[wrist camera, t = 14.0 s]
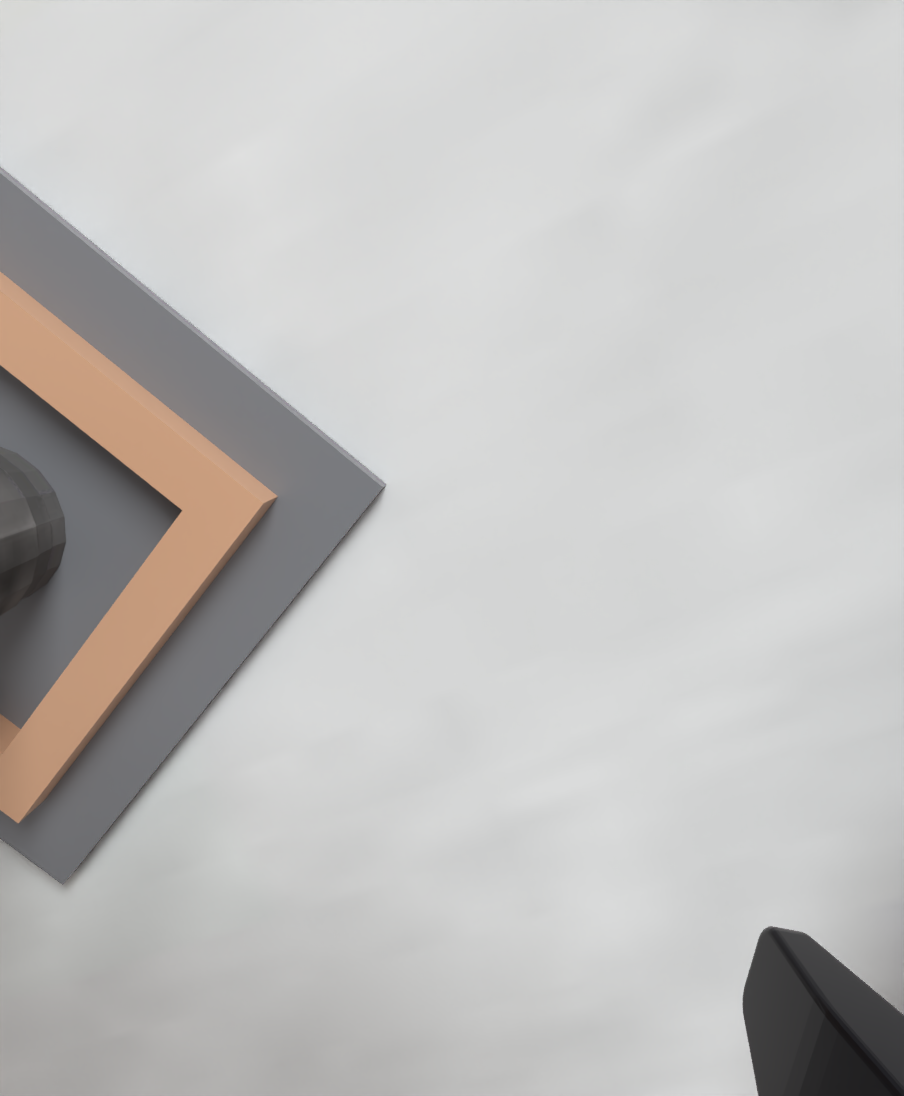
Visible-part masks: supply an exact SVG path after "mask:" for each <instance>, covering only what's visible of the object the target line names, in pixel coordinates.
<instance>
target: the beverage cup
mask: <svg viewBox="0 0 904 1096" xmlns="http://www.w3.org/2000/svg"><path fill="white" fill-rule="evenodd" d="M65 544H66V534H65V519H64V514H63V512H62V509H61V506H60V504H59V501H58V498H57V496H56V493H55V491H54V490H53V488H52V487H51V486H50V484H49V483H48V482H47V480H46V479H45V477H44V476H43V475H42V473H41V472H40V471H39V470H38V469H37V468H36V467H35V466H33V465H32V464H31V463H29V462H28V461H27V460H25V459H24V458H23V457H22V456H20V455H19V454H18V453H15V452H13V451H10V450H7V449H5V448H2V447H0V616H2V615H3V614H5V613H6V612H7V611H9V610H10V609H12V608H13V607H15V606H16V605H17V604H18V603H19V601H20V600H22V599H24V598H26V597H29V596H30V595H31V594H33V593H34V592H36V591H37V590H39V589H40V588H41V587H43V586H44V585H46V584H47V583H48V582H49V580H50V579H51V577H52V576H53V574H54V573H55V571H56V570H57V568H58V567H59V565H60V563H61V559H62V555H63V551H64V547H65Z"/></svg>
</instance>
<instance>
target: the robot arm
mask: <svg viewBox="0 0 904 1096" xmlns="http://www.w3.org/2000/svg"><path fill="white" fill-rule="evenodd" d="M743 1014H744V1020H745V1026H746V1031H747V1037H748V1042H749V1047H750V1053H751V1058H752V1064H753V1069H754V1074H755V1080H756V1085H757V1091H758V1096H904V1015H903V1014H902V1013H900V1012H899V1011H898V1010H897V1009H896V1008H894V1007H893V1006H892V1005H891V1004H890V1003H888V1002H887V1001H886V1000H885V999H884V998H883V997H881V996H880V995H879V994H878V993H877V992H875V991H874V990H873V989H872V988H871V987H869V986H868V985H867V984H866V983H865V982H863V981H862V980H861V979H860V978H859V977H857V976H856V975H855V974H854V973H853V972H852V971H850V970H849V969H848V968H847V967H846V966H844V965H843V964H842V963H841V962H840V961H838V960H837V959H836V958H835V957H834V956H832V955H831V954H830V953H829V952H828V951H826V950H825V949H824V948H823V947H822V946H821V945H819V944H818V943H817V942H816V941H815V940H813V939H812V938H811V937H810V936H808V935H807V934H805V933H803V932H799V931H794V930H789V929H783V928H778V927H773V926H769V927H768V928H766V929H764V930H763V931H762V933H761V935H760V937H759V940H758V943H757V946H756V950H755V953H754V956H753V960H752V963H751V967H750V970H749V973H748V977H747V980H746V984H745V987H744V992H743Z"/></svg>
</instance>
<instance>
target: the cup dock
mask: <svg viewBox="0 0 904 1096" xmlns="http://www.w3.org/2000/svg"><path fill="white" fill-rule="evenodd" d="M0 447H2V448H5V449H7V450H10V451H13V452H15V453H18V454H19V455H20V456H22V457H23V458H24V459H25V460H27V461H28V462H29V463H31V464H32V465H33V466H35V467H36V468H37V469H38V470H39V471H40V472H41V473H42V475H43V476H44V477H45V479H46V480H47V482H48V483H49V484H50V486H51V487H52V488H53V490H54V491H55V493H56V496H57V498H58V501H59V504H60V506H61V509H62V512H63V514H64V519H65V534H66V544H65V547H64V551H63V555H62V559H61V563H60V565H59V567H58V568H57V570H56V571H55V573H54V574H53V576H52V577H51V579H50V580H49V582H48V583H47V584H46V585H44V586H43V587H41V588H40V589H39V590H37V591H36V592H34V593H33V594H31V595H30V596H29V597H26V598H24V599H22V600H20V601H19V603H18V604H17V605H16V606H15V607H13V608H12V609H10V610H9V611H7V612H6V613H5V614H3V615H2V616H0V838H1V839H2V840H3V841H5V842H6V843H7V844H9V845H10V846H11V847H13V848H14V849H15V850H17V851H18V852H19V853H21V854H22V855H23V856H25V857H26V858H27V859H29V860H30V861H32V862H33V863H34V864H36V865H37V866H38V867H40V868H41V869H42V870H44V871H45V872H46V873H48V874H49V875H50V876H52V877H53V878H54V879H56V880H57V881H58V882H60V883H61V884H64V883H65V882H66V880H67V879H68V878H69V877H70V876H71V875H72V874H73V873H74V871H75V870H76V869H77V868H78V867H79V865H80V864H81V863H82V862H83V860H84V859H85V858H86V857H87V855H88V854H89V853H90V852H91V850H92V849H93V848H94V847H95V845H96V844H97V843H98V842H99V840H100V839H101V838H102V837H103V835H104V834H105V833H106V832H107V830H108V829H109V828H110V827H111V826H112V824H113V823H114V822H115V821H116V819H117V818H118V817H119V816H120V814H121V813H122V812H123V811H124V809H125V808H126V807H127V806H128V804H129V803H130V802H131V801H132V799H133V798H134V797H135V796H136V794H137V793H138V792H139V791H140V789H141V788H142V787H143V786H144V785H145V783H146V782H147V781H148V780H149V778H150V777H151V776H152V775H153V773H154V772H155V771H156V770H157V768H158V767H159V766H160V765H161V763H162V762H163V761H164V760H165V758H166V757H167V756H168V755H169V753H170V752H171V751H172V750H173V748H174V747H175V746H176V745H177V744H178V742H179V741H180V740H181V739H182V737H183V736H184V735H185V734H186V732H187V731H188V730H189V729H190V727H191V726H192V725H193V724H194V722H195V721H196V720H197V719H198V717H199V716H200V715H201V714H202V712H203V711H204V710H205V709H206V707H207V706H208V705H209V704H210V703H211V701H212V700H213V699H214V698H215V696H216V695H217V694H218V693H219V691H220V690H221V689H222V688H223V686H224V685H225V684H226V683H227V681H228V680H229V679H230V678H231V676H232V675H233V674H234V673H235V671H236V670H237V669H238V668H239V666H240V665H241V664H242V663H243V662H244V660H245V659H246V658H247V657H248V655H249V654H250V653H251V652H252V650H253V649H254V648H255V647H256V645H257V644H258V643H259V642H260V640H261V639H262V638H263V637H264V635H265V634H266V633H267V632H268V630H269V629H270V628H271V627H272V625H273V624H274V623H275V622H276V621H277V619H278V618H279V617H280V616H281V614H282V613H283V612H284V611H285V609H286V608H287V607H288V606H289V604H290V603H291V602H292V601H293V599H294V598H295V597H296V596H297V594H298V593H299V592H300V591H301V589H302V588H303V587H304V586H305V584H306V583H307V582H308V581H309V580H310V578H311V577H312V576H313V575H314V573H315V572H316V571H317V570H318V568H319V567H320V566H321V565H322V563H323V562H324V561H325V560H326V558H327V557H328V556H329V555H330V553H331V552H332V551H333V550H334V548H335V547H336V546H337V545H338V543H339V542H340V541H341V540H342V539H343V537H344V536H345V535H346V534H347V532H348V531H349V530H350V529H351V527H352V526H353V525H354V524H355V522H356V521H357V520H358V519H359V517H360V516H361V515H362V514H363V512H364V511H365V510H366V509H367V507H368V506H369V505H370V504H371V502H372V501H373V500H374V499H375V498H376V496H377V495H378V494H379V493H380V491H381V490H382V489H383V488H384V486H385V485H386V484H385V483H384V482H383V481H382V480H381V479H379V478H378V477H377V476H376V475H374V474H373V473H372V472H371V471H370V470H368V469H367V468H366V467H365V466H364V465H362V464H361V463H360V462H359V461H357V460H356V459H355V458H354V457H353V456H351V455H350V454H349V453H348V452H347V451H345V450H344V449H343V448H342V447H340V446H339V445H338V444H337V443H336V442H334V441H333V440H332V439H331V438H330V437H328V436H327V435H326V434H325V433H323V432H322V431H321V430H320V429H319V428H317V427H316V426H315V425H314V424H312V423H311V422H310V421H309V420H308V419H306V418H305V417H304V416H303V415H302V414H300V413H299V412H298V411H297V410H295V409H294V408H293V407H292V406H291V405H289V404H288V403H287V402H286V401H285V400H283V399H282V398H281V397H280V396H278V395H277V394H276V393H275V392H274V391H272V390H271V389H270V388H269V387H268V386H266V385H265V384H264V383H263V382H261V381H260V380H259V379H258V378H257V377H255V376H254V375H253V374H252V373H250V372H249V371H248V370H247V369H246V368H244V367H243V366H242V365H241V364H240V363H238V362H237V361H236V360H235V359H233V358H232V357H231V356H230V355H229V354H227V353H226V352H225V351H224V350H223V349H221V348H220V347H219V346H218V345H216V344H215V343H214V342H213V341H212V340H210V339H209V338H208V337H207V336H205V335H204V334H203V333H202V332H201V331H199V330H198V329H197V328H196V327H195V326H193V325H192V324H191V323H190V322H188V321H187V320H186V319H185V318H184V317H182V316H181V315H180V314H179V313H178V312H176V311H175V310H174V309H173V308H171V307H170V306H169V305H168V304H167V303H165V302H164V301H163V300H162V299H161V298H159V297H158V296H157V295H156V294H154V293H153V292H152V291H151V290H150V289H148V288H147V287H146V286H145V285H143V284H142V283H141V282H140V281H139V280H137V279H136V278H135V277H134V276H133V275H131V274H130V273H129V272H128V271H126V270H125V269H124V268H123V267H122V266H120V265H119V264H118V263H117V262H116V261H114V260H113V259H112V258H111V257H109V256H108V255H107V254H106V253H105V252H103V251H102V250H101V249H100V248H99V247H97V246H96V245H95V244H94V243H92V242H91V241H90V240H89V239H88V238H86V237H85V236H84V235H83V234H81V233H80V232H79V231H78V230H77V229H75V228H74V227H73V226H72V225H71V224H69V223H68V222H67V221H66V220H64V219H63V218H62V217H61V216H60V215H58V214H57V213H56V212H55V211H54V210H52V209H51V208H50V207H49V206H47V205H46V204H45V203H44V202H43V201H41V200H40V199H39V198H38V197H37V196H35V195H34V194H33V193H32V192H30V191H29V190H28V189H27V188H26V187H24V186H23V185H22V184H21V183H19V182H18V181H17V180H16V179H15V178H13V177H12V176H11V175H10V174H9V173H7V172H6V171H5V170H4V169H2V168H1V167H0Z"/></svg>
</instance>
